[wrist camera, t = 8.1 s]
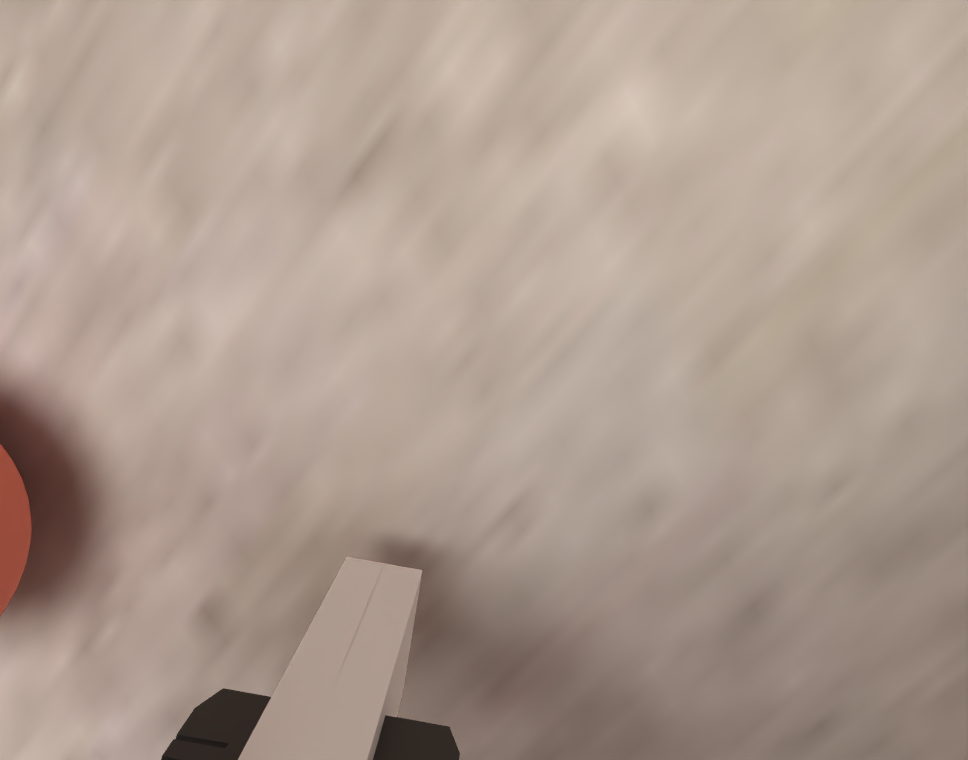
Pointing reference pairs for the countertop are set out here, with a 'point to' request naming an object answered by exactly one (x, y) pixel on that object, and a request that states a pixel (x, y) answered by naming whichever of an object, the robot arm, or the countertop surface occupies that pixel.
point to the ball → (12, 528)
